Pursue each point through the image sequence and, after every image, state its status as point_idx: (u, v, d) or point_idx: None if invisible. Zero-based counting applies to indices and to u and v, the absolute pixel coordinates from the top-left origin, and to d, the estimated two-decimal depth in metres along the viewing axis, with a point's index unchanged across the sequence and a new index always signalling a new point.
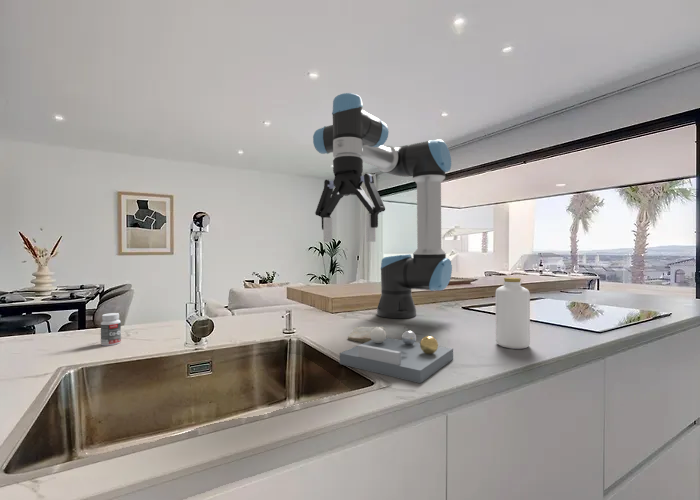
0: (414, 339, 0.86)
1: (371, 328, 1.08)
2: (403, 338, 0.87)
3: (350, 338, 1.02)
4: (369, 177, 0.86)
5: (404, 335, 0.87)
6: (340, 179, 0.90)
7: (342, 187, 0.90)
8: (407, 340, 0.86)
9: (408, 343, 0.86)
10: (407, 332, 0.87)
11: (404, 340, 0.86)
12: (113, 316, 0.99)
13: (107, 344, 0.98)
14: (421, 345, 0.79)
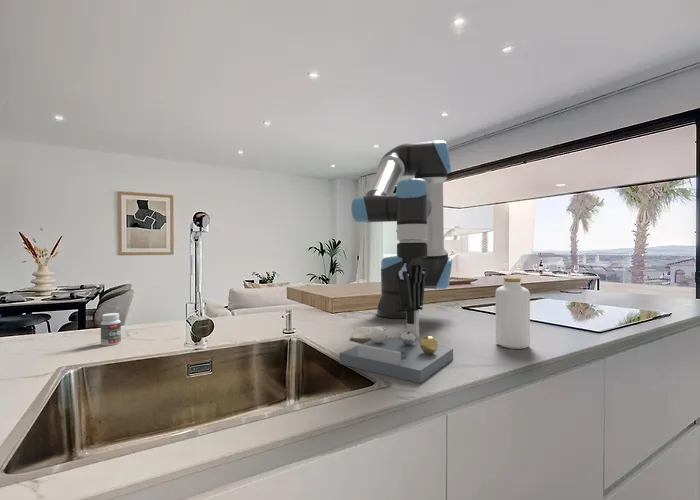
0: (414, 340, 0.86)
1: (372, 328, 1.08)
2: (402, 340, 0.86)
3: (353, 338, 1.01)
4: (398, 276, 0.84)
5: (403, 337, 0.86)
6: None
7: None
8: (406, 343, 0.86)
9: (408, 344, 0.86)
10: (405, 334, 0.86)
11: (403, 342, 0.86)
12: (113, 316, 0.99)
13: (107, 344, 0.98)
14: (421, 345, 0.79)
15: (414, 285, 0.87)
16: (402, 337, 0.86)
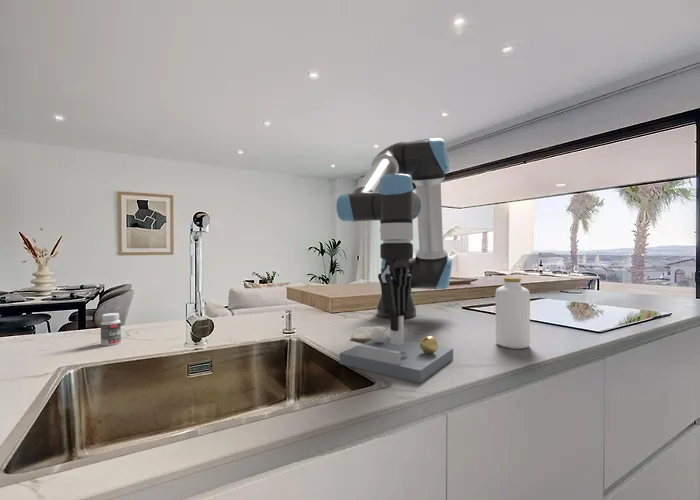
0: None
1: (372, 328, 1.08)
2: None
3: (354, 339, 1.01)
4: (381, 279, 0.78)
5: None
6: None
7: None
8: None
9: None
10: None
11: None
12: (113, 316, 0.99)
13: (107, 344, 0.98)
14: (421, 345, 0.79)
15: (398, 289, 0.81)
16: None
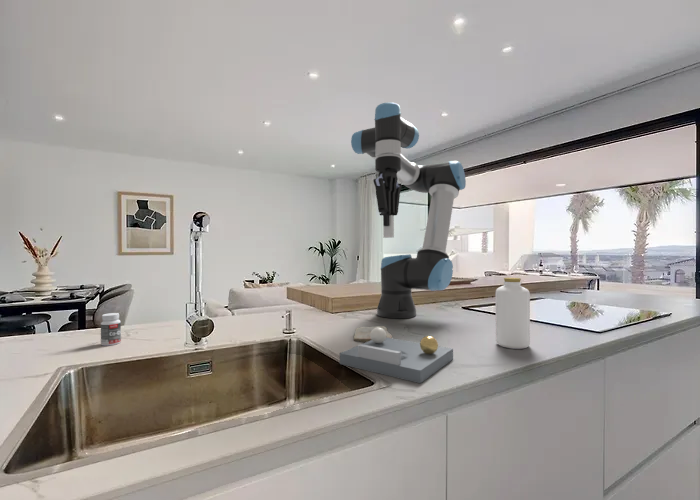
0: None
1: (373, 328, 1.08)
2: None
3: (356, 339, 1.01)
4: (375, 183, 1.01)
5: None
6: None
7: None
8: None
9: None
10: None
11: None
12: (113, 316, 0.99)
13: (107, 344, 0.98)
14: (421, 345, 0.79)
15: (389, 193, 1.03)
16: None
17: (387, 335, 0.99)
